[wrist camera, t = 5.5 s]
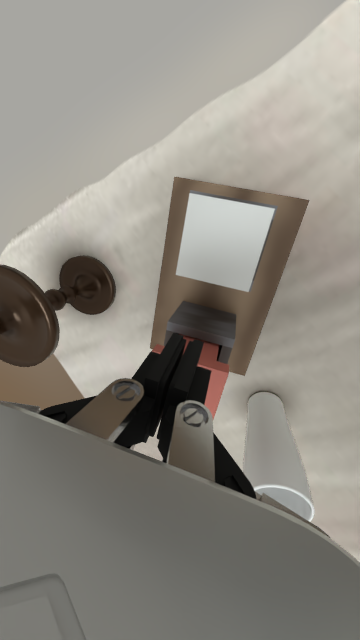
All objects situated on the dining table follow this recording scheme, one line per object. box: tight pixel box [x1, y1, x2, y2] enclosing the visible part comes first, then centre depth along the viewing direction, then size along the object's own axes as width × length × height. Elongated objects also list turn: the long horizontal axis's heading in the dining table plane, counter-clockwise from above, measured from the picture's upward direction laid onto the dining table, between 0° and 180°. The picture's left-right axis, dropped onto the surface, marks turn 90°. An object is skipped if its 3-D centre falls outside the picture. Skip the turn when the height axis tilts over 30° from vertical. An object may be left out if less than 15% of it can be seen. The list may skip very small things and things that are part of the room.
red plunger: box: [152, 334, 229, 419], centre depth 24 cm, size 6×6×8 cm
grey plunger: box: [176, 193, 275, 292], centre depth 22 cm, size 6×6×8 cm
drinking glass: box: [243, 392, 314, 522], centre depth 30 cm, size 7×7×15 cm
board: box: [150, 177, 309, 376], centre depth 27 cm, size 14×22×10 cm, turn 170°
